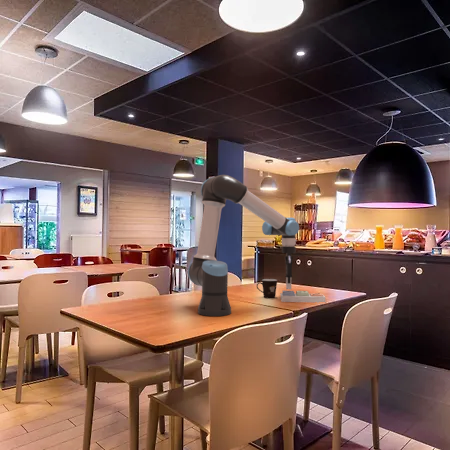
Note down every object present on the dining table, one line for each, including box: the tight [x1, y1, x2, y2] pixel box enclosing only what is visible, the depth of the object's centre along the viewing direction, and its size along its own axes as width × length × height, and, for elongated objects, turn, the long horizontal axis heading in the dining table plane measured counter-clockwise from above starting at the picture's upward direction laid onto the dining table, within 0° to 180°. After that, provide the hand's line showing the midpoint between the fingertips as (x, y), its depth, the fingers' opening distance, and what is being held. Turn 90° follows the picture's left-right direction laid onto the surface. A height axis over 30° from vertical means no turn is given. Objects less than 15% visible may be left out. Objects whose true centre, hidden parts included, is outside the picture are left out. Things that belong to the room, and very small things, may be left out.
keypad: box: [279, 292, 326, 304], centre depth 211 cm, size 23×10×3 cm, turn 86°
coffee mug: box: [256, 278, 278, 300], centre depth 220 cm, size 12×9×10 cm
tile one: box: [281, 290, 296, 296], centre depth 212 cm, size 6×6×3 cm
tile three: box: [309, 292, 324, 296], centre depth 211 cm, size 6×6×3 cm
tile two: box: [295, 290, 310, 296], centre depth 212 cm, size 6×6×3 cm
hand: (288, 289), depth 212 cm, fingers closed
